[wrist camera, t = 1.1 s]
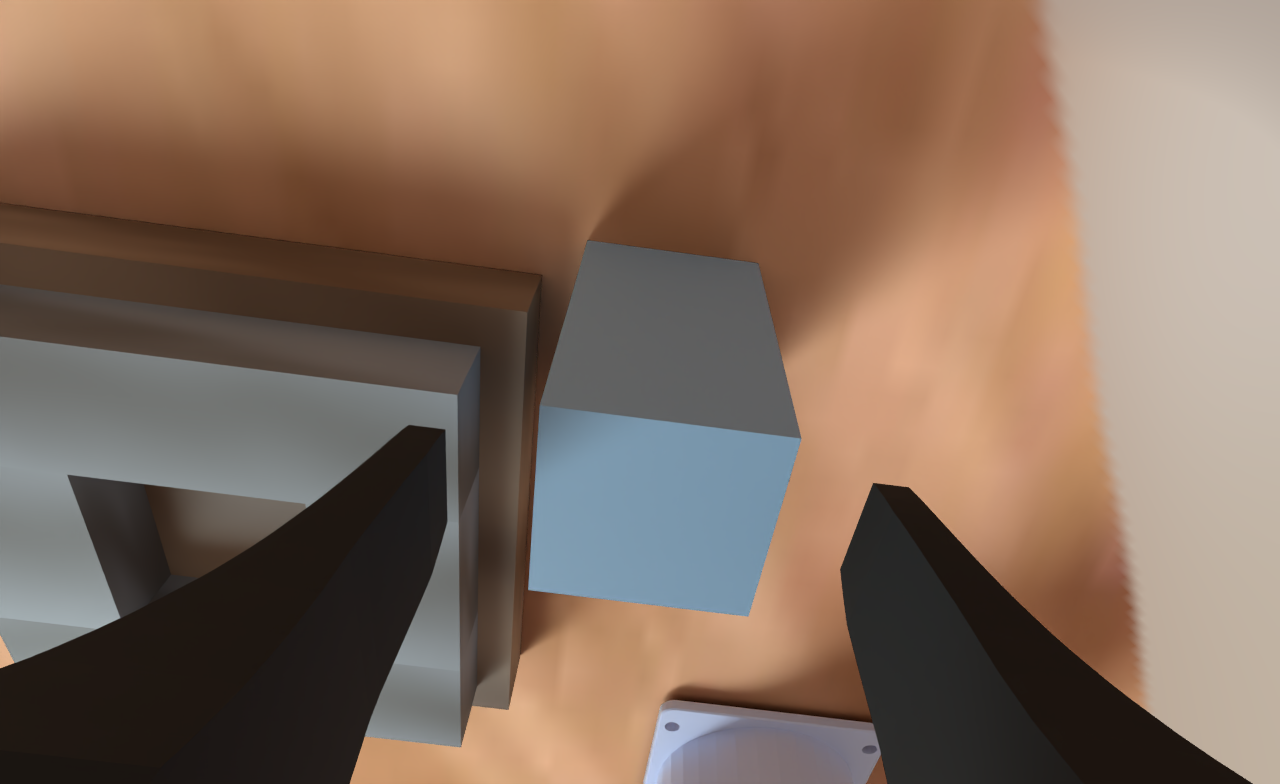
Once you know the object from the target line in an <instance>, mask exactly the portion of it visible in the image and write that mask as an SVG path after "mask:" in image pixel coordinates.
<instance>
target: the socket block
mask: <svg viewBox="0 0 1280 784" xmlns="http://www.w3.org/2000/svg"><path fill="white" fill-rule="evenodd" d="M541 282H542V275H536V274H529V273H521V272H514V271H506V270H499V269H491V268H484V267H476V266H469V265H461V264H454V263H446V262H439V261H431V260H424V259H416V258H409V257H401V256H394V255H386V254H379V253H371V252H364V251H356V250H349V249H341V248H334V247H326V246H319V245H311V244H304V243H296V242H288V241H281V240H273V239H266V238H258V237H251V236H243V235H236V234H228V233H221V232H213V231H206V230H198V229H191V228H183V227H176V226H168V225H161V224H153V223H146V222H138V221H131V220H123V219H116V218H108V217H101V216H93V215H86V214H78V213H71V212H63V211H56V210H48V209H41V208H33V207H26V206H18V205H10V204H3V203H0V635H1V637H2V639H3V641H4V643H5V645H6V647H7V649H8V651H9V653H10V655H11V657H12V659H13V661H14V663H16V662H19V661H22V660H24V659H27V658H30V657H32V656H34V655H37V654H39V653H42V652H44V651H47V650H49V649H52V648H54V647H56V646H59V645H61V644H63V643H66V642H68V641H70V640H73V639H75V638H77V637H80V636H82V635H84V634H87V633H89V632H91V631H93V630H96V629H98V628H100V627H102V626H104V625H107V624H109V623H111V622H113V621H115V620H117V619H119V618H122V617H124V616H126V615H128V614H130V613H132V612H134V611H136V610H138V609H140V608H142V607H144V606H146V605H148V604H150V603H152V602H154V601H156V600H158V599H160V598H161V597H163V596H165V595H167V594H169V593H171V592H173V591H175V590H177V589H179V588H181V587H183V586H184V585H186V584H188V583H190V582H192V581H194V580H196V579H198V578H200V577H202V576H203V575H205V574H207V573H209V572H210V571H212V570H214V569H216V568H217V567H219V566H221V565H222V564H224V563H226V562H227V561H229V560H231V559H232V558H234V557H235V556H237V555H239V554H240V553H242V552H244V551H245V550H247V549H248V548H250V547H252V546H253V545H255V544H256V543H258V542H259V541H261V540H262V539H264V538H265V537H267V536H268V535H270V534H271V533H272V532H274V531H275V530H277V529H278V528H279V527H281V526H282V525H284V524H285V523H286V522H288V521H289V520H290V519H292V518H293V517H295V516H296V515H297V514H299V513H300V512H302V511H303V510H304V509H306V508H307V507H308V506H310V505H311V504H312V503H314V502H315V501H316V500H318V499H319V498H320V497H322V496H323V495H324V494H325V493H327V492H328V491H329V490H330V489H332V488H333V487H334V486H335V485H337V484H338V483H339V482H340V481H342V480H343V479H344V478H345V477H347V476H348V475H349V474H350V473H352V472H353V471H354V470H355V469H356V468H358V467H359V466H360V465H361V464H362V463H363V462H365V461H366V460H367V459H368V458H369V457H371V456H372V455H373V454H374V453H375V452H376V451H378V450H379V449H380V448H381V447H382V446H383V445H385V444H386V443H387V442H388V441H389V440H390V439H392V438H393V437H394V436H395V435H396V434H397V433H399V432H400V431H401V430H402V429H404V428H405V427H406V426H408V425H415V426H423V427H431V428H439V429H445V430H446V475H447V519H448V522H447V525H446V529H445V532H444V536H443V539H442V543H441V546H440V550H439V553H438V557H437V560H436V563H435V567H434V570H433V573H432V576H431V578H430V581H429V583H428V586H427V588H426V590H425V593H424V595H423V597H422V600H421V602H420V604H419V606H418V609H417V611H416V613H415V616H414V618H413V620H412V623H411V625H410V627H409V629H408V632H407V634H406V636H405V639H404V641H403V643H402V645H401V648H400V650H399V652H398V655H397V657H396V659H395V661H394V664H393V666H392V668H391V671H390V673H389V675H388V677H387V680H386V682H385V684H384V686H383V689H382V691H381V693H380V696H379V698H378V701H377V704H376V706H375V709H374V711H373V714H372V716H371V719H370V722H369V725H368V728H367V731H366V734H365V736H366V737H375V738H384V739H392V740H401V741H410V742H419V743H428V744H436V745H445V746H454V747H461V745H462V741H463V737H464V734H465V730H466V726H467V722H468V718H469V715H470V711H471V707H472V706H480V707H489V708H497V709H506V710H509V705H510V701H511V696H512V691H513V687H514V682H515V678H516V673H517V668H518V664H519V659H520V648H521V631H522V613H523V596H524V578H525V561H526V544H527V526H528V509H529V491H530V474H531V456H532V439H533V421H534V404H535V387H536V369H537V352H538V334H539V317H540V299H541Z"/></svg>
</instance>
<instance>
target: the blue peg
mask: <svg viewBox="0 0 1280 784" xmlns="http://www.w3.org/2000/svg"><path fill="white" fill-rule="evenodd" d="M800 442H801V435H800V431H799V427H798V423H797V419H796V414H795V410H794V406H793V402H792V398H791V394H790V390H789V386H788V382H787V378H786V374H785V370H784V366H783V362H782V357H781V353H780V349H779V345H778V341H777V337H776V333H775V329H774V325H773V321H772V317H771V313H770V309H769V304H768V300H767V296H766V292H765V288H764V284H763V280H762V276H761V272H760V268H759V264H758V263H753V262H746V261H738V260H731V259H724V258H716V257H709V256H701V255H694V254H686V253H679V252H672V251H664V250H657V249H649V248H642V247H635V246H627V245H620V244H612V243H605V242H597V241H590V240H587V244H586V247H585V251H584V254H583V258H582V261H581V265H580V268H579V272H578V275H577V278H576V282H575V285H574V289H573V292H572V296H571V299H570V303H569V306H568V309H567V313H566V316H565V320H564V323H563V327H562V330H561V334H560V337H559V340H558V344H557V347H556V351H555V354H554V358H553V361H552V365H551V368H550V372H549V375H548V378H547V382H546V385H545V389H544V392H543V396H542V399H541V403H540V409H539V425H538V441H537V457H536V473H535V489H534V505H533V521H532V538H531V554H530V570H529V586H528V590H532V591H540V592H549V593H557V594H565V595H574V596H582V597H590V598H599V599H607V600H615V601H624V602H632V603H640V604H649V605H657V606H665V607H674V608H682V609H690V610H699V611H707V612H715V613H724V614H732V615H740V616H749V612H750V609H751V606H752V602H753V599H754V596H755V592H756V589H757V586H758V582H759V579H760V576H761V572H762V569H763V566H764V562H765V559H766V556H767V552H768V549H769V546H770V542H771V539H772V535H773V532H774V529H775V525H776V522H777V519H778V515H779V512H780V509H781V505H782V502H783V499H784V495H785V492H786V489H787V485H788V482H789V479H790V475H791V472H792V469H793V465H794V462H795V459H796V455H797V452H798V448H799V445H800Z"/></svg>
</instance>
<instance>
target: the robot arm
mask: <svg viewBox="0 0 1280 784" xmlns="http://www.w3.org/2000/svg"><path fill="white" fill-rule="evenodd" d="M447 522H448V519H447V475H446V430H445V429H439V428H431V427H423V426H415V425H408V426H406V427H405V428H404V429H402V430H401V431H400V432H399V433H397V434H396V435H395V436H394V437H393V438H392V439H390V440H389V441H388V442H387V443H386V444H385V445H383V446H382V447H381V448H380V449H379V450H378V451H376V452H375V453H374V454H373V455H372V456H371V457H369V458H368V459H367V460H366V461H365V462H363V463H362V464H361V465H360V466H359V467H358V468H356V469H355V470H354V471H353V472H352V473H350V474H349V475H348V476H347V477H345V478H344V479H343V480H342V481H340V482H339V483H338V484H337V485H335V486H334V487H333V488H332V489H330V490H329V491H328V492H327V493H325V494H324V495H323V496H322V497H320V498H319V499H318V500H316V501H315V502H314V503H312V504H311V505H310V506H308V507H307V508H306V509H304V510H303V511H302V512H300V513H299V514H297V515H296V516H295V517H293V518H292V519H290V520H289V521H288V522H286V523H285V524H284V525H282V526H281V527H279V528H278V529H277V530H275V531H274V532H272V533H271V534H270V535H268V536H267V537H265V538H264V539H262V540H261V541H259V542H258V543H256V544H255V545H253V546H252V547H250V548H248V549H247V550H245V551H244V552H242V553H240V554H239V555H237V556H235V557H234V558H232V559H231V560H229V561H227V562H226V563H224V564H222V565H221V566H219V567H217V568H216V569H214V570H212V571H210V572H209V573H207V574H205V575H203V576H202V577H200V578H198V579H196V580H194V581H192V582H190V583H188V584H186V585H184V586H183V587H181V588H179V589H177V590H175V591H173V592H171V593H169V594H167V595H165V596H163V597H161V598H160V599H158V600H156V601H154V602H152V603H150V604H148V605H146V606H144V607H142V608H140V609H138V610H136V611H134V612H132V613H130V614H128V615H126V616H124V617H122V618H119V619H117V620H115V621H113V622H111V623H109V624H107V625H104V626H102V627H100V628H98V629H96V630H93V631H91V632H89V633H87V634H84V635H82V636H80V637H77V638H75V639H73V640H70V641H68V642H66V643H63V644H61V645H59V646H56V647H54V648H52V649H49V650H47V651H44V652H42V653H39V654H37V655H34V656H32V657H30V658H27V659H24V660H22V661H19V662H16V663H14V664H11V665H8V666H6V667H3V668H0V784H350V780H351V777H352V774H353V771H354V768H355V765H356V762H357V759H358V756H359V753H360V749H361V746H362V743H363V740H364V737H365V734H366V731H367V728H368V725H369V722H370V719H371V716H372V714H373V711H374V709H375V706H376V704H377V701H378V698H379V696H380V693H381V691H382V689H383V686H384V684H385V682H386V680H387V677H388V675H389V673H390V671H391V668H392V666H393V664H394V661H395V659H396V657H397V655H398V652H399V650H400V648H401V645H402V643H403V641H404V639H405V636H406V634H407V632H408V629H409V627H410V625H411V623H412V620H413V618H414V616H415V613H416V611H417V609H418V606H419V604H420V602H421V600H422V597H423V595H424V593H425V590H426V588H427V586H428V583H429V581H430V578H431V576H432V573H433V570H434V567H435V563H436V560H437V557H438V553H439V550H440V546H441V543H442V539H443V536H444V532H445V529H446V525H447ZM840 571H841V580H842V589H843V598H844V606H845V613H846V620H847V626H848V630H849V634H850V638H851V642H852V646H853V650H854V654H855V658H856V662H857V665H858V669H859V673H860V677H861V680H862V684H863V688H864V692H865V695H866V699H867V703H868V707H869V710H870V714H871V718H872V721H873V723H870V722H861V721H852V720H844V719H835V718H827V717H818V716H810V715H801V714H792V713H784V712H775V711H767V710H758V709H750V708H741V707H732V706H724V705H715V704H707V703H698V702H690V701H681V700H669V701H666V702H665V703H663V704H662V705H661V707H660V710H659V714H658V719H657V723H656V728H655V732H654V736H653V741H652V745H651V750H650V754H649V759H648V763H647V767H646V772H645V776H644V781H643V784H866V782H867V780H868V778H869V777H870V775H871V773H872V771H873V769H874V767H875V765H876V763H877V761H878V759H879V757H880V755H881V756H882V761H883V765H884V770H885V774H886V778H887V784H1252V783H1251V782H1249V781H1248V780H1246V779H1244V778H1243V777H1242V776H1240V775H1238V774H1237V773H1235V772H1234V771H1232V770H1231V769H1229V768H1228V767H1226V766H1224V765H1223V764H1221V763H1220V762H1218V761H1217V760H1215V759H1214V758H1212V757H1211V756H1209V755H1208V754H1206V753H1205V752H1203V751H1202V750H1200V749H1199V748H1198V747H1196V746H1195V745H1193V744H1192V743H1190V742H1189V741H1187V740H1186V739H1184V738H1183V737H1182V736H1180V735H1179V734H1177V733H1176V732H1174V731H1173V730H1172V729H1170V728H1169V727H1167V726H1166V725H1165V724H1164V723H1162V722H1161V721H1160V720H1158V719H1157V718H1155V717H1154V716H1153V715H1151V714H1150V713H1149V712H1147V711H1146V710H1145V709H1143V708H1142V707H1140V706H1139V705H1138V704H1136V703H1135V702H1134V701H1132V700H1131V699H1130V698H1128V697H1127V696H1126V695H1125V694H1123V693H1122V692H1121V691H1119V690H1118V689H1117V688H1116V687H1114V686H1113V685H1112V684H1110V683H1109V682H1108V681H1107V680H1105V679H1104V678H1103V677H1102V676H1101V675H1099V674H1098V673H1097V672H1096V671H1095V670H1093V669H1092V668H1091V667H1090V666H1089V665H1087V664H1086V663H1085V662H1084V661H1083V660H1081V659H1080V658H1079V657H1078V656H1077V655H1075V654H1074V653H1073V652H1072V651H1071V650H1069V649H1068V648H1067V647H1066V646H1065V645H1064V644H1063V643H1062V642H1060V641H1059V640H1058V639H1057V638H1056V637H1055V636H1054V635H1053V634H1051V633H1050V632H1049V631H1048V630H1047V629H1046V628H1045V627H1044V626H1043V625H1042V624H1041V623H1040V622H1039V621H1038V620H1036V619H1035V618H1034V617H1033V616H1032V615H1031V614H1030V613H1029V612H1028V611H1027V610H1026V609H1025V608H1024V607H1023V606H1022V605H1021V604H1020V603H1019V602H1017V601H1016V600H1015V599H1014V598H1013V597H1012V596H1011V595H1010V594H1009V593H1008V592H1007V591H1006V590H1005V589H1004V588H1003V587H1002V586H1001V585H1000V584H999V583H998V582H997V580H996V579H995V578H994V577H993V576H992V575H991V574H990V573H989V572H988V571H987V570H986V569H985V568H984V567H983V566H982V565H981V564H980V563H979V562H978V561H977V560H976V559H975V558H974V556H973V555H972V554H971V553H970V552H969V551H968V550H967V549H966V548H965V547H964V546H963V545H962V544H961V542H960V541H959V540H958V539H957V538H956V537H955V536H954V535H953V534H952V533H951V532H950V531H949V529H948V528H947V527H946V526H945V525H944V524H943V523H942V522H941V521H940V520H939V519H938V517H937V516H936V515H935V514H934V513H933V512H932V511H931V510H930V509H929V508H928V507H927V506H926V504H925V503H924V502H923V501H922V500H921V499H920V498H919V497H918V496H917V495H916V494H915V493H914V492H913V491H912V490H911V489H910V488H909V487H901V486H893V485H885V484H877V483H873V485H872V488H871V490H870V493H869V495H868V498H867V501H866V503H865V506H864V509H863V511H862V514H861V516H860V519H859V522H858V524H857V527H856V530H855V532H854V535H853V537H852V540H851V543H850V545H849V548H848V551H847V553H846V556H845V558H844V561H843V564H842V566H841V569H840Z"/></svg>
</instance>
